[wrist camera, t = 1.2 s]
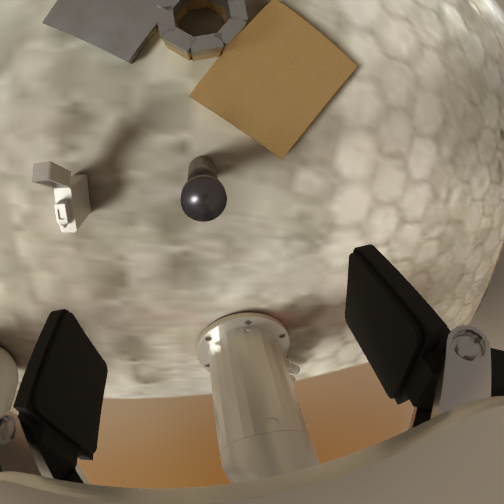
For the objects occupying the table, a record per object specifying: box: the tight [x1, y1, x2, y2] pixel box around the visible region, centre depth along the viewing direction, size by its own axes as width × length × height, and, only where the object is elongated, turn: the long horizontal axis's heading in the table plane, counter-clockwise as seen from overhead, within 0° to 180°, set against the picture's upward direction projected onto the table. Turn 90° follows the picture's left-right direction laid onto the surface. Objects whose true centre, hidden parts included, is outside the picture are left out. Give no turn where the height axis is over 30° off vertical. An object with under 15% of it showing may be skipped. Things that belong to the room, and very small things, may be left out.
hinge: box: [43, 0, 357, 159], centre depth 17 cm, size 27×12×5 cm, turn 53°
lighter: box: [32, 162, 91, 232], centre depth 21 cm, size 7×2×8 cm, turn 175°
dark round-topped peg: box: [181, 156, 227, 221], centre depth 22 cm, size 3×3×9 cm
